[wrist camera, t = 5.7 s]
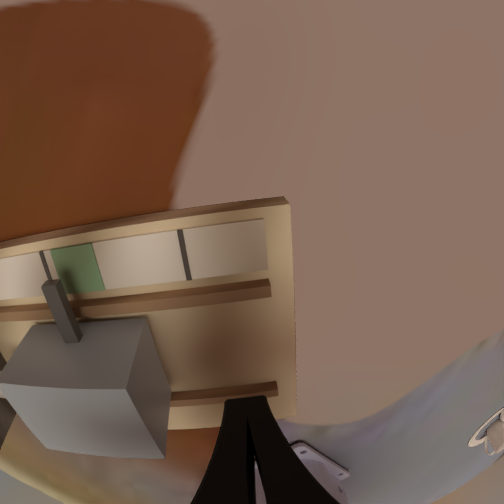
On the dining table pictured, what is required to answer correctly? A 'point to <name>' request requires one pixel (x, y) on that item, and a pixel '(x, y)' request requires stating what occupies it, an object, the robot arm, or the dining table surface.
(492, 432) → the teacup and saucer
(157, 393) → the gauge carriage
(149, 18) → the dining table surface
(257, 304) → the scale board
